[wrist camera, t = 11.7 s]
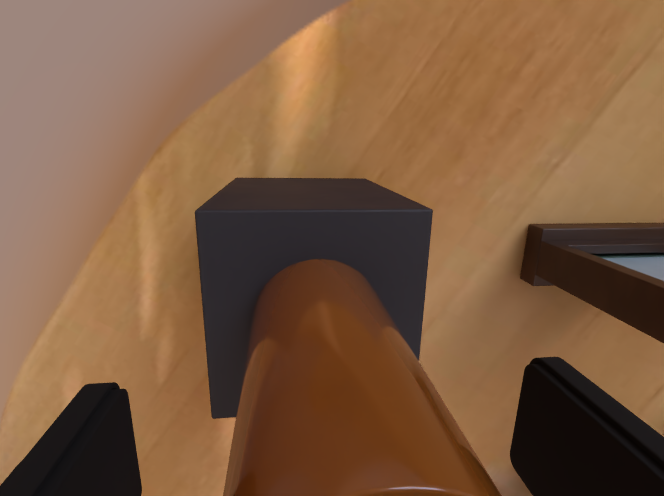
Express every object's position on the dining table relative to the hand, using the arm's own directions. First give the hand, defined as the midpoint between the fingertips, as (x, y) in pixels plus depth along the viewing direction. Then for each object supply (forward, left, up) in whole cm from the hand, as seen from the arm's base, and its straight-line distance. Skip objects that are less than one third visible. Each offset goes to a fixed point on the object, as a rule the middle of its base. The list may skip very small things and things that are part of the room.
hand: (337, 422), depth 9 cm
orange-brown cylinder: (0, 0, -5) cm, 5 cm away
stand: (0, 0, -16) cm, 16 cm away
